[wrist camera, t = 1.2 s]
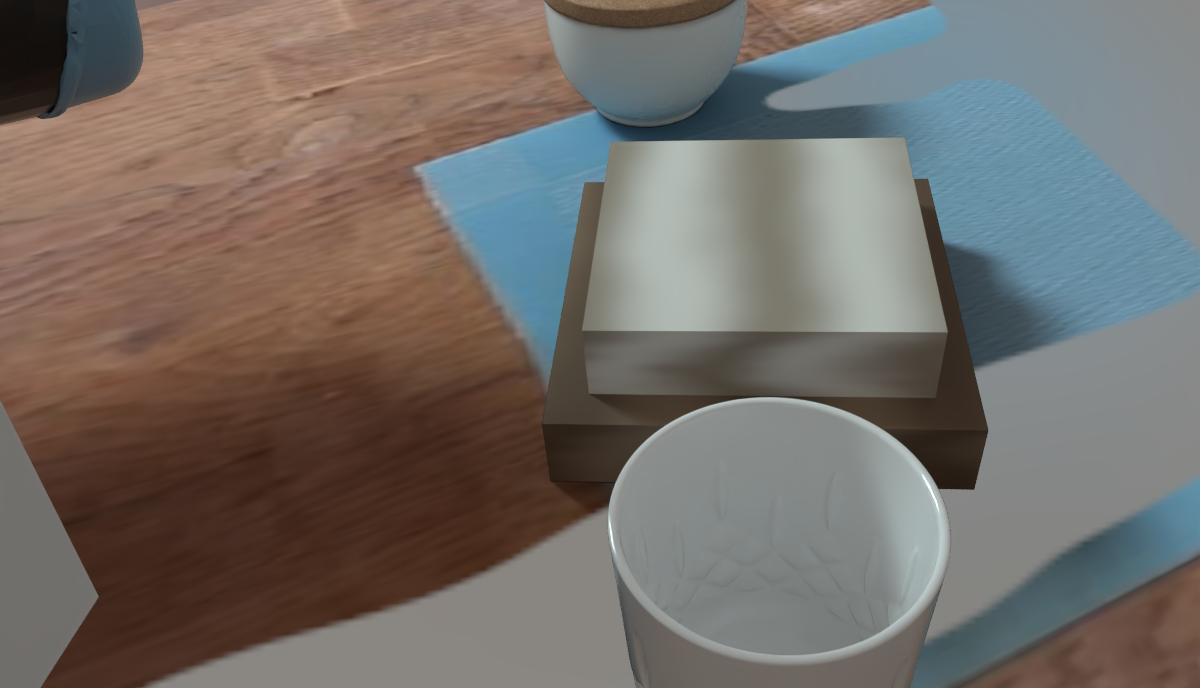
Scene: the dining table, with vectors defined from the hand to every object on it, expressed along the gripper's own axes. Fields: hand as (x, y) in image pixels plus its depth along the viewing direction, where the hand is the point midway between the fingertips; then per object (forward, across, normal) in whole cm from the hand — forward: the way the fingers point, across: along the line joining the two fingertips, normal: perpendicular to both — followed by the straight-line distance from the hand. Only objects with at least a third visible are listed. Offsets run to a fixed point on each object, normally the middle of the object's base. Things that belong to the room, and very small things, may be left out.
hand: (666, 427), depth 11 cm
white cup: (+14, 0, -20) cm, 25 cm away
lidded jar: (+50, -2, -12) cm, 52 cm away
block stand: (+30, +2, -16) cm, 35 cm away
